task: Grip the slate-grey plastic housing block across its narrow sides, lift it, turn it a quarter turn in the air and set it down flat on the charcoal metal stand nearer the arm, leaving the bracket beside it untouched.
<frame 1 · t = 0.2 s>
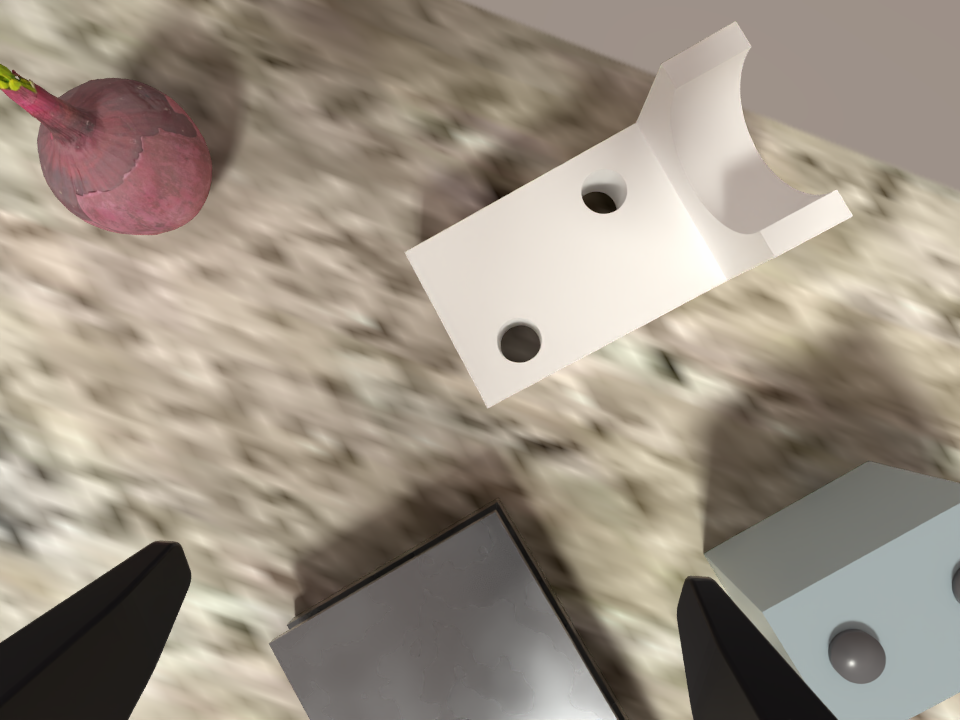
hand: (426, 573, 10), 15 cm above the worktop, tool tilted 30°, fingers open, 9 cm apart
bracket: (581, 268, 25), on the worktop
vegetable: (191, 194, 26), on the worktop
housing: (816, 558, 23), on the worktop
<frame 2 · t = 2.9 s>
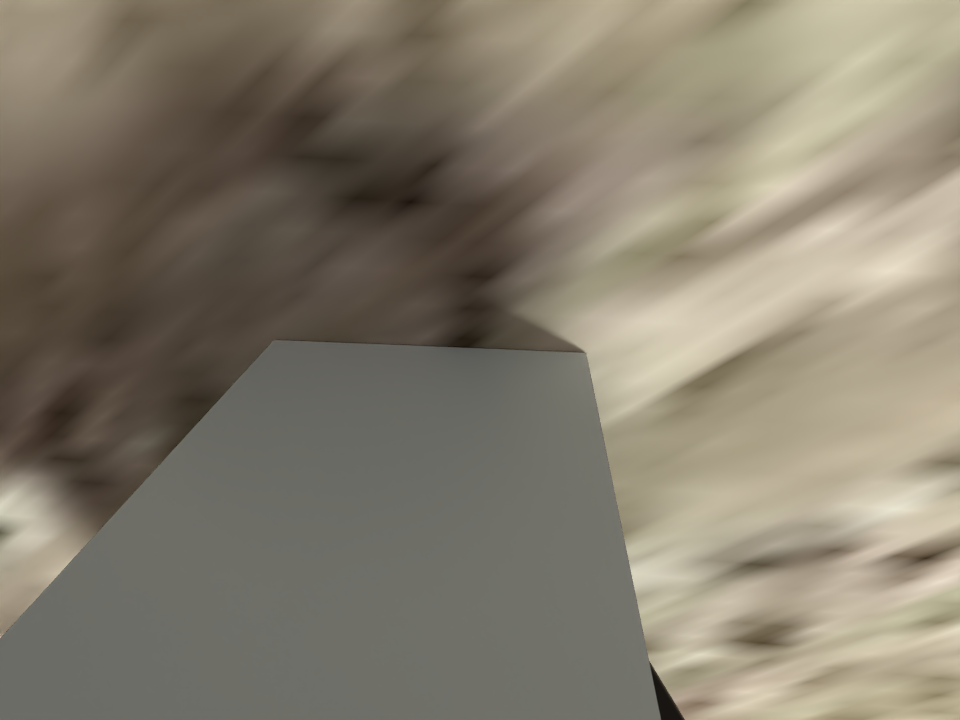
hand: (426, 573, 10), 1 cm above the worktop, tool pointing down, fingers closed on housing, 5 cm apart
housing: (435, 529, 11), on the worktop, touching gripper
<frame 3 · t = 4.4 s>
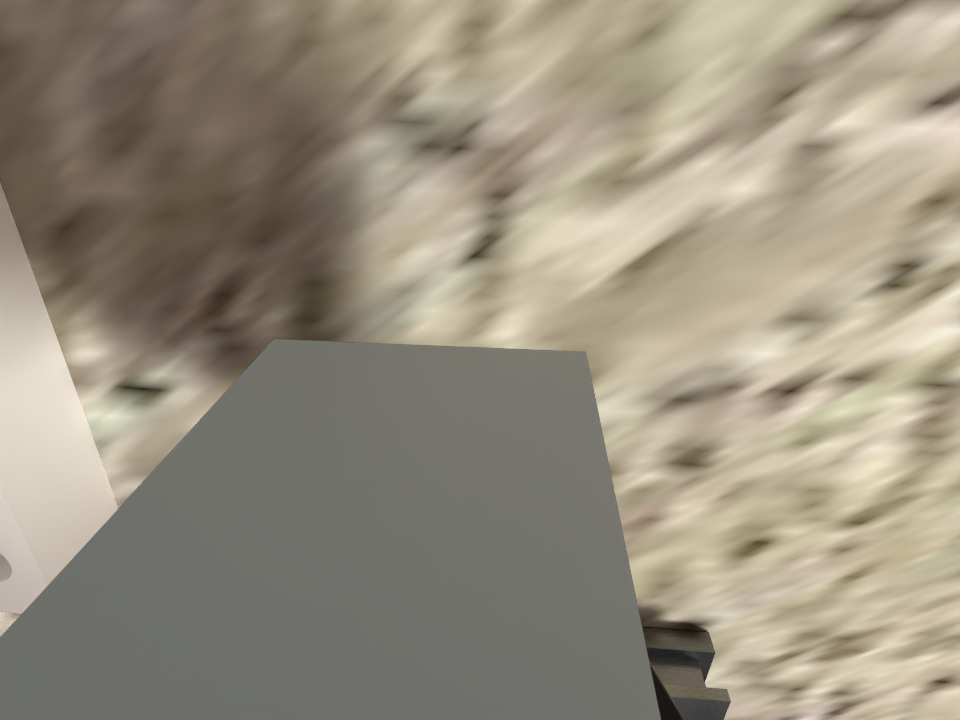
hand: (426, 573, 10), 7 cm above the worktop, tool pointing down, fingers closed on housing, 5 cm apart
housing: (435, 528, 11), point 6 cm above the worktop, touching gripper
stand: (468, 697, 23), on the worktop
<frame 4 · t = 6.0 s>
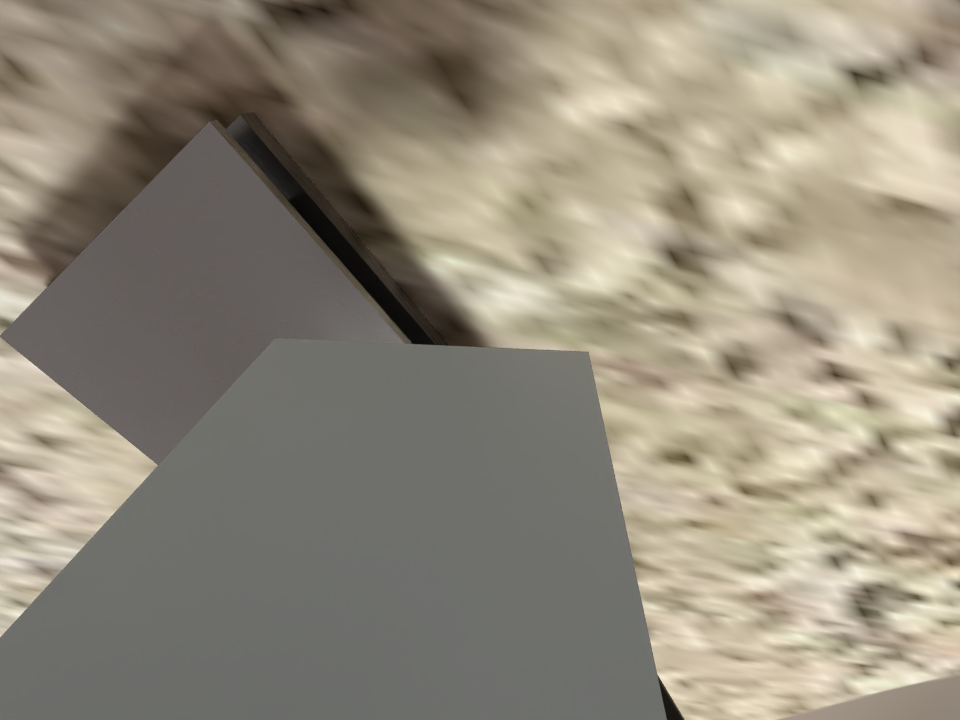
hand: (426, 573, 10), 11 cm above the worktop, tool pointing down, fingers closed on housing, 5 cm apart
housing: (436, 528, 10), point 10 cm above the worktop, touching gripper
stand: (331, 406, 21), on the worktop
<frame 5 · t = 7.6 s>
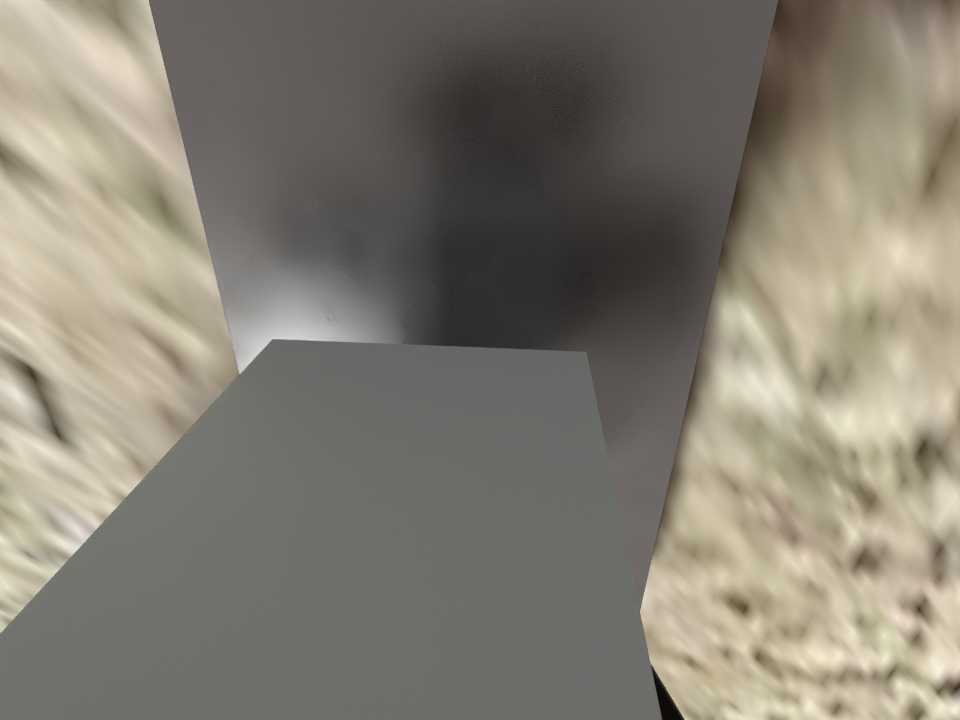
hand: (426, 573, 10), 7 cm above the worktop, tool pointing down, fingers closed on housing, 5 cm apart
housing: (435, 529, 10), point 6 cm above the worktop, touching gripper
stand: (468, 368, 16), on the worktop
when the fingers open (5 cm above the worktop, at t = 8.9 s): housing drops 1 cm, resting on stand.
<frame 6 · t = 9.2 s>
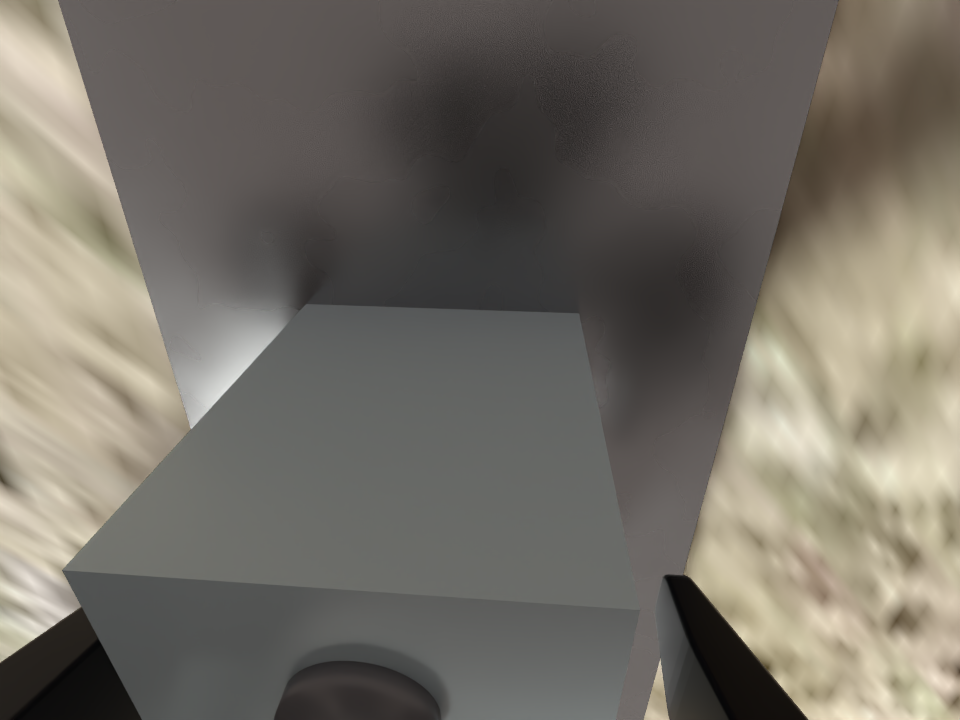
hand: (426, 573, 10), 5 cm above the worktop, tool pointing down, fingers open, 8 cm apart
housing: (446, 478, 12), point 2 cm above the worktop, touching stand
stand: (458, 413, 14), on the worktop
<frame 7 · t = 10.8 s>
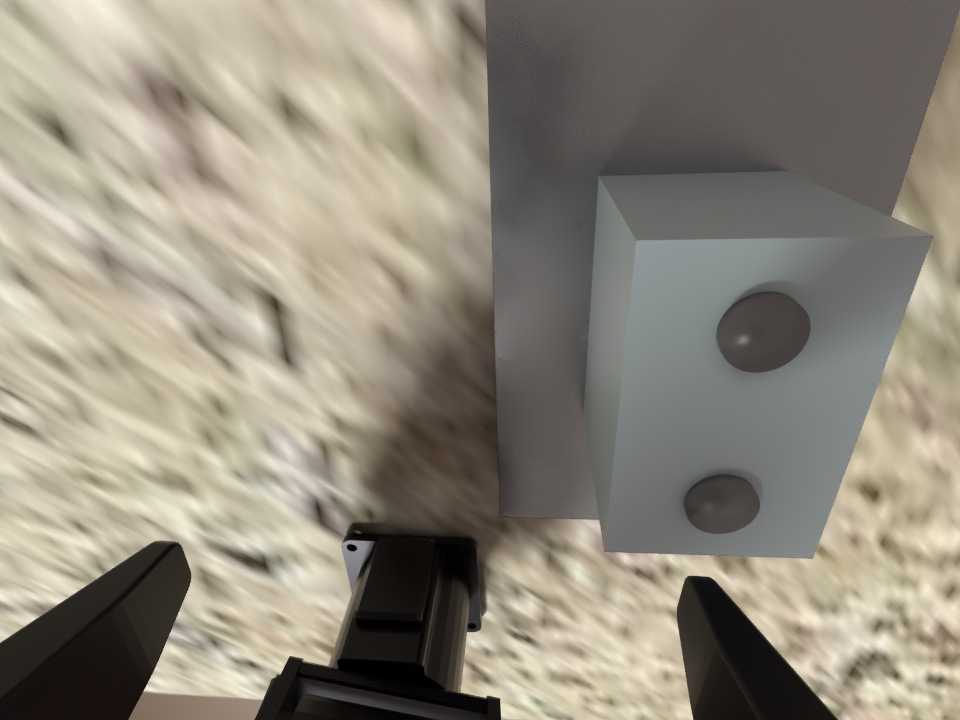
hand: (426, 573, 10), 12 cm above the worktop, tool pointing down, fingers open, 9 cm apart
housing: (672, 308, 17), point 2 cm above the worktop, touching stand
stand: (655, 279, 19), on the worktop
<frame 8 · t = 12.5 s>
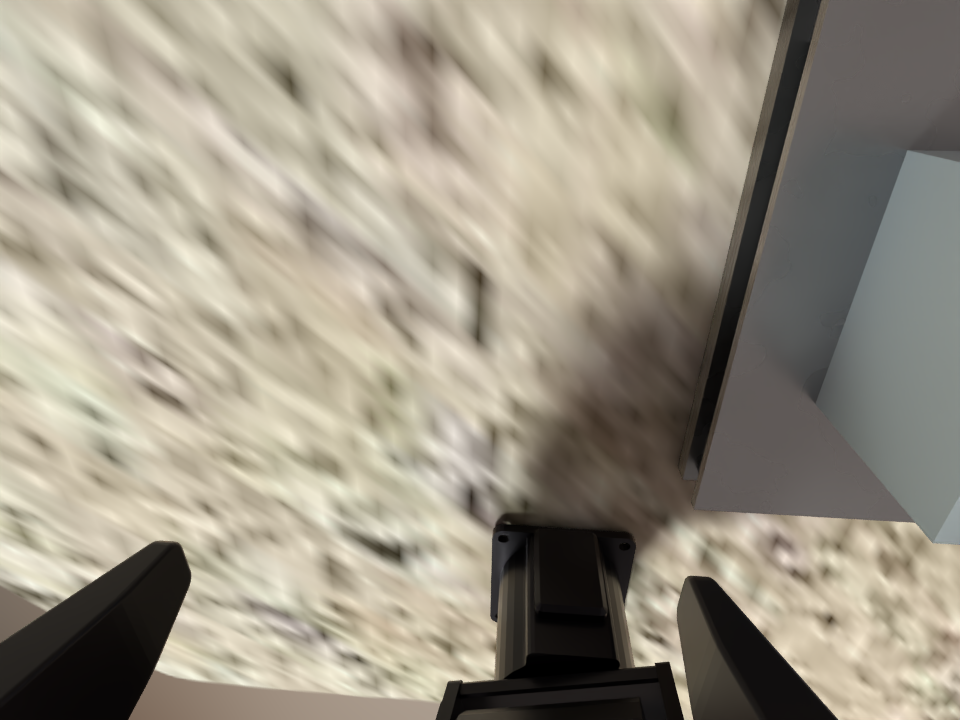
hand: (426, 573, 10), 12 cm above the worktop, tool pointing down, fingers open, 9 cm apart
housing: (943, 295, 16), point 2 cm above the worktop, touching stand
stand: (893, 267, 18), on the worktop
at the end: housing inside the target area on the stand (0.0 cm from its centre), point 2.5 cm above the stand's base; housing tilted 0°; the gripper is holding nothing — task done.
